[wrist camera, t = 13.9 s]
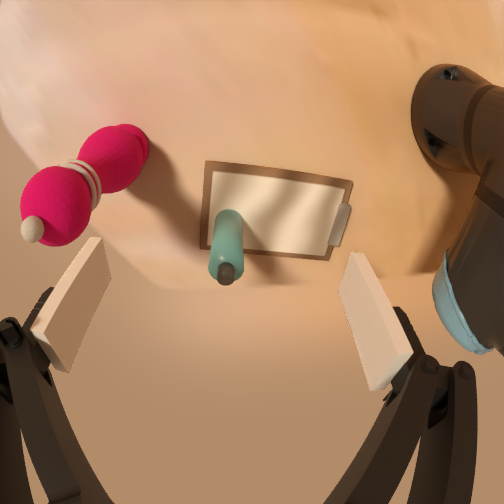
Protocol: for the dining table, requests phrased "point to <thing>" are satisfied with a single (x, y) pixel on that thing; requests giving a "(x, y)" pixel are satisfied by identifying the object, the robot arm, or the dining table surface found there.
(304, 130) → the dining table surface
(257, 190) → the clipboard
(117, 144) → the pepper mill
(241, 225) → the bottle
